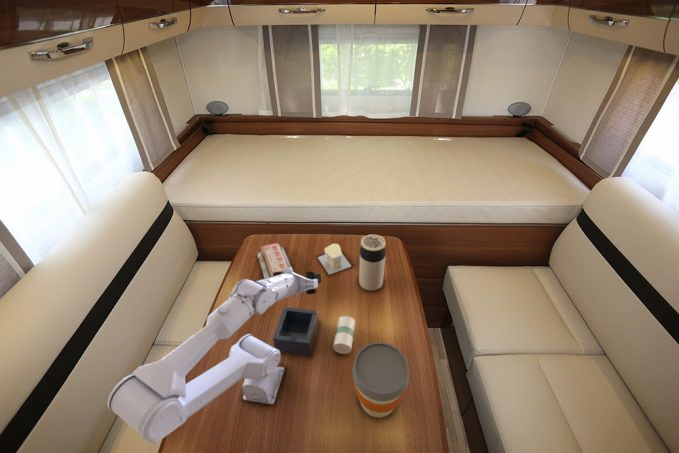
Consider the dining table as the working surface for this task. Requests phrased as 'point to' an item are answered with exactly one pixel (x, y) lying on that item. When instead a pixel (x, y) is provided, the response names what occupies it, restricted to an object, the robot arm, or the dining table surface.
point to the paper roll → (344, 335)
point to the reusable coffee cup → (380, 377)
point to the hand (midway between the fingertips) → (307, 278)
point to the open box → (296, 331)
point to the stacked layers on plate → (333, 259)
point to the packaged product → (273, 259)
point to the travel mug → (372, 262)
